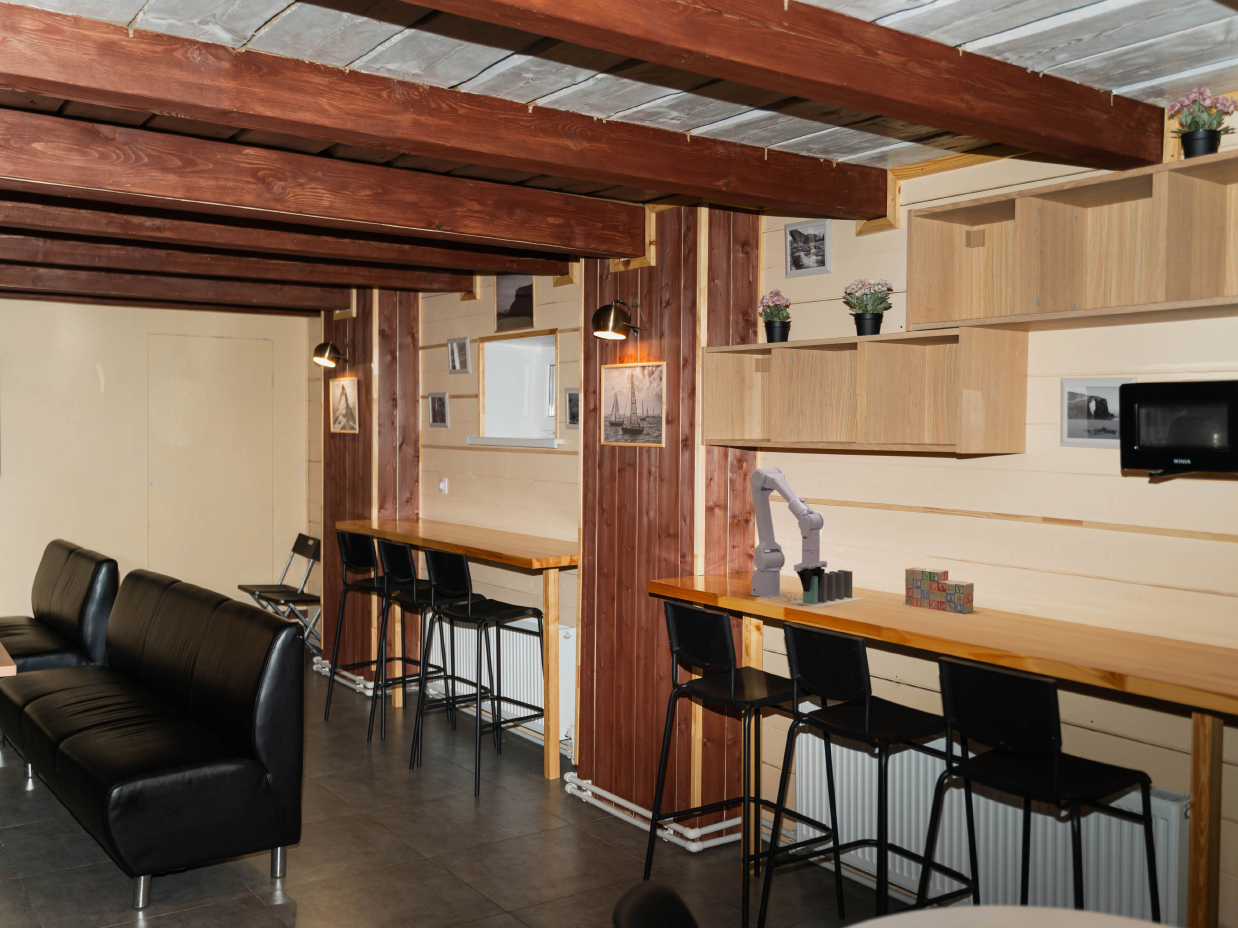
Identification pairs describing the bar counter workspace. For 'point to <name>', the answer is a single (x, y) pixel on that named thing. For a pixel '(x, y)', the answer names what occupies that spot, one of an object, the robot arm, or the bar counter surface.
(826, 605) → the mat
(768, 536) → the robot arm
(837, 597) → the domino
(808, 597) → the domino
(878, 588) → the bar counter surface
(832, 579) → the domino
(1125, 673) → the bar counter surface
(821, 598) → the domino
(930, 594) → the stack of blocks
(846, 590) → the domino
